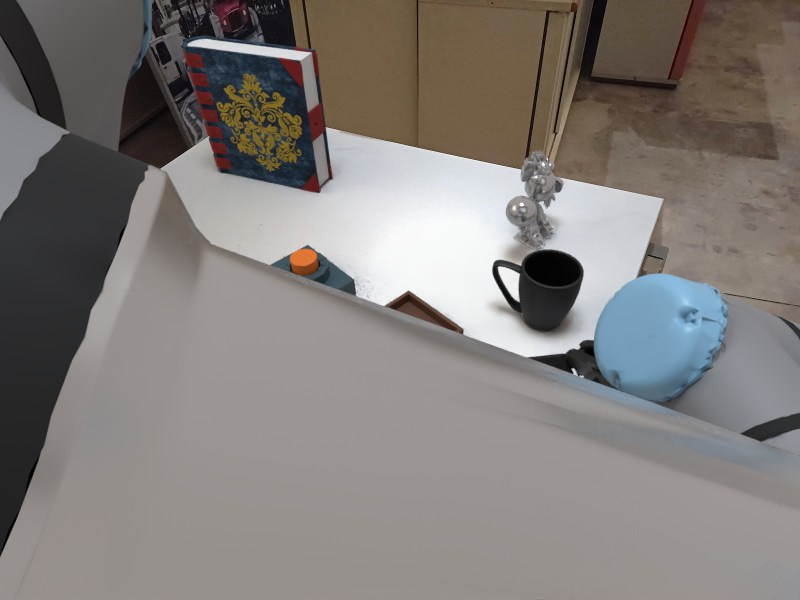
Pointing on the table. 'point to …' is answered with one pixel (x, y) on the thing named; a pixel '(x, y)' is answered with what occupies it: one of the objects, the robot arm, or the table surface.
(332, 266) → the console
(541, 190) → the robot toy
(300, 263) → the console button
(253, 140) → the book
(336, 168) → the table surface
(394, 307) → the tray
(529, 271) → the mug
